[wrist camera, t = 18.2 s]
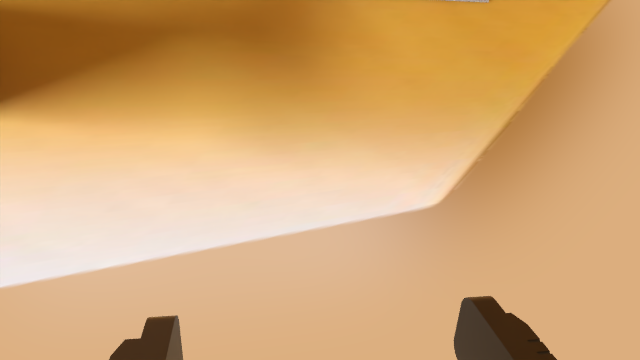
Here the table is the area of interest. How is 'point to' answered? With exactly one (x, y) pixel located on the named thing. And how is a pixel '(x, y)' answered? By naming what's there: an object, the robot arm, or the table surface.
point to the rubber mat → (471, 0)
